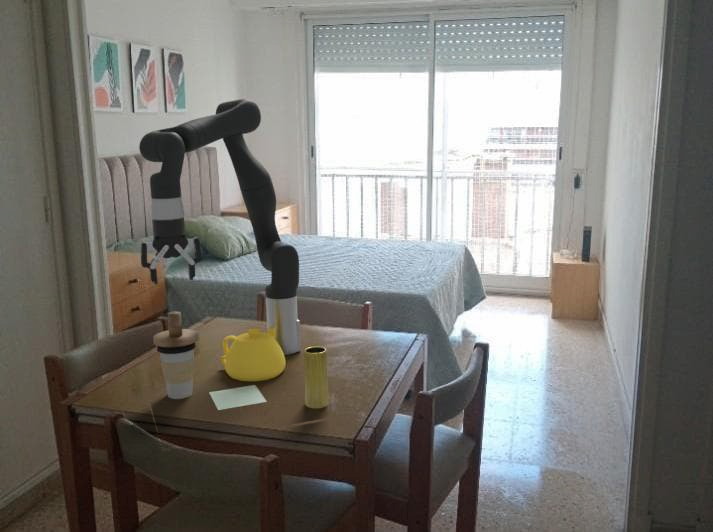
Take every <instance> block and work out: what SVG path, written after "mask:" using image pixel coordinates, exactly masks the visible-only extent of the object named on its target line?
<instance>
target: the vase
mask: <svg viewBox="0 0 713 532" xmlns="http://www.w3.org/2000/svg"><path fill="white" fill-rule="evenodd" d="M303 353H304V406H305V407H307V408H310V409H323V408H325V407H328V406H329V405H330V393H329V383H328V381H329V380H328V367H327V366H328V364H327V361H328V360H327V349H326V348H325V347H323V346H318V345H317V346H309V347H307V348H305V349H304V352H303Z"/></svg>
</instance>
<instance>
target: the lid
mask: <svg viewBox="0 0 713 532" xmlns="http://www.w3.org/2000/svg"><path fill="white" fill-rule="evenodd" d="M167 323H168V330H164V331H161V332H158V333H156V334H155V335H153V336H152V340H153V345H155V346H156V347H157V346H160V347H180V346H185V345H189V344H192V343H194V342H195V343H197V341H199V339H200V337H199V331H197V330H194V329H191V328H190V329H189V328H183V324H182V323H183V322H182V313H181V311H170V312H168V313H167Z"/></svg>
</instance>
